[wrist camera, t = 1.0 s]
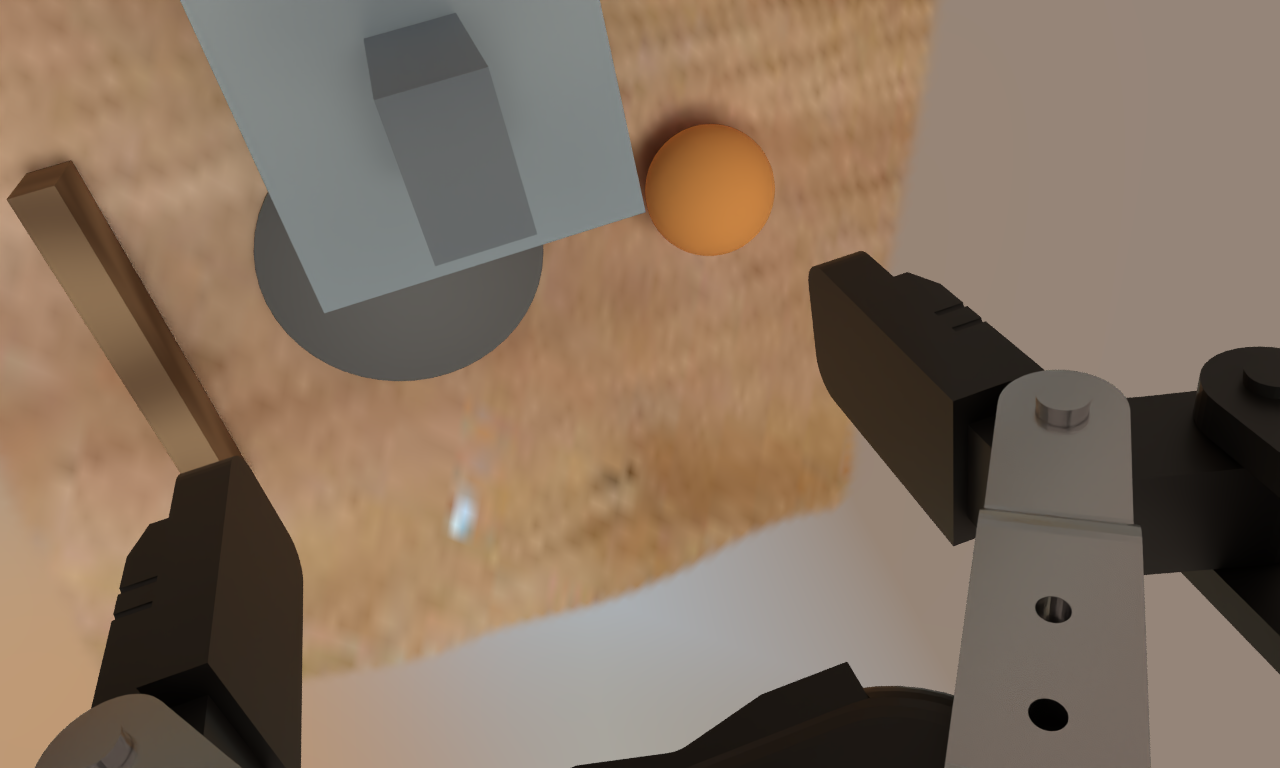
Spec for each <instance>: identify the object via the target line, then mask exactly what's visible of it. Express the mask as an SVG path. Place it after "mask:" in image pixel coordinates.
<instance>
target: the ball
mask: <svg viewBox="0 0 1280 768" xmlns="http://www.w3.org/2000/svg"><path fill="white" fill-rule="evenodd" d="M774 194H775V184H774V177H773V172H772V168H771V166H770V163H769V161H768V159H767V157H766V155H765V153H764V152H763V151H762V149H761V148H760V147H759V146H758V145H757V143H756V142H755V141H754V140H753V139H751V138H750V137H749V136H747V135H746V134H744V133H743V132H741V131H739V130H737V129H735V128H732V127H729V126H724V125H719V124H704V125H697V126H693V127H690V128H687V129H685V130H683V131H681V132H679V133H677V134H676V135H674V136H673V137H671V138H670V139H669V140H668V141H667V142H666V143H665V144H664V145H663V146H662V147H661V148H660V149H659V151H658V152H657V154H656V155H655V157H654V159H653V160H652V162H651V165H650V167H649V170H648V174H647V178H646V186H645V197H646V204H647V208H648V211H649V215H650V217H651V219H652V221H653V223H654V225H655V226H656V228H657V229H658V231H659V232H660V233H661V234H662V235H663V236H664V237H665V238H666V239H667V240H668V241H669V242H670V243H671V244H673V245H675V246H676V247H678V248H680V249H681V250H684V251H686V252H689V253H692V254H696V255H703V256H715V255H722V254H726V253H730V252H732V251H735V250H737V249H739V248H741V247H742V246H744V245H745V244H747V243H748V242H749V241H751V240H752V239H753V238H754V237H755V236H756V235H757V234H758V233H759V232H760V230H761V229H762V228H763V226H764V225H765V223H766V221H767V219H768V217H769V215H770V213H771V209H772V206H773V201H774Z"/></svg>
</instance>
